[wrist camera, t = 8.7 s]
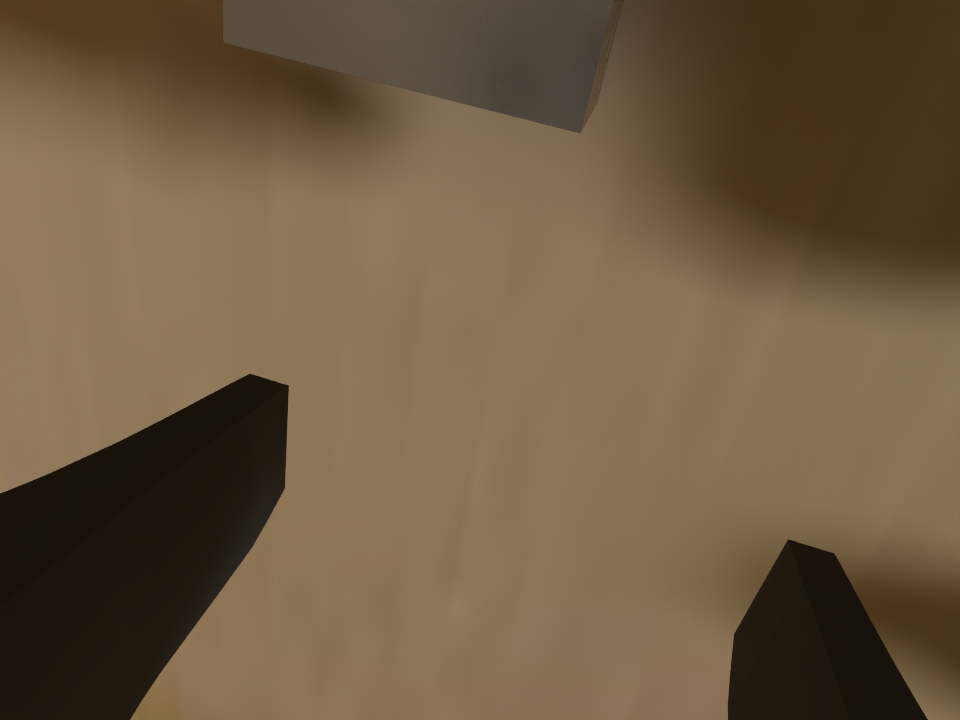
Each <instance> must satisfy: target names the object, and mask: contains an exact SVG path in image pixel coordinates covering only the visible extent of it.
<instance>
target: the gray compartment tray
mask: <svg viewBox="0 0 960 720" xmlns="http://www.w3.org/2000/svg"><path fill="white" fill-rule="evenodd" d="M622 1H623V0H223V43H227V44H230V45H234V46H238V47H242V48H246V49H250V50H254V51H258V52H262V53H266V54H270V55H274V56H278V57H282V58H286V59H290V60H294V61H297V62H301V63H305V64H309V65H313V66H317V67H321V68H325V69H329V70H333V71H337V72H341V73H345V74H349V75H353V76H357V77H361V78H364V79H368V80H372V81H376V82H380V83H384V84H388V85H392V86H396V87H400V88H404V89H408V90H412V91H416V92H420V93H424V94H428V95H431V96H435V97H439V98H443V99H447V100H451V101H455V102H459V103H463V104H467V105H471V106H475V107H479V108H483V109H487V110H491V111H495V112H498V113H502V114H506V115H510V116H514V117H518V118H522V119H526V120H530V121H534V122H538V123H542V124H546V125H550V126H554V127H558V128H562V129H565V130H569V131H573V132H577V133H581V131H582V129H583V127H584V126H585V124H586V122H587V120H588V118H589V116H590V114H591V113H592V111H593V109H594V107H595V105H596V103H597V100H598V96H599V92H600V88H601V84H602V80H603V76H604V72H605V68H606V64H607V60H608V56H609V52H610V48H611V44H612V40H613V36H614V32H615V28H616V24H617V20H618V17H619V13H620V9H621V5H622Z"/></svg>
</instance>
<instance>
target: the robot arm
mask: <svg viewBox="0 0 960 720" xmlns="http://www.w3.org/2000/svg"><path fill="white" fill-rule="evenodd" d="M288 391H289V386H288V385H285V384H281V383H278V382H275V381H272V380H268V379H265V378H262V377H259V376H255V375H252V374H249V375H247V376H245V377H243V378H241V379H239V380H237V381H235V382H233V383H231V384H229V385H227V386H225V387H223V388H222V389H220V390H218V391H216V392H214V393H212V394H210V395H208V396H206V397H205V398H203V399H201V400H199V401H197V402H195V403H193V404H191V405H189V406H188V407H186V408H184V409H182V410H180V411H178V412H176V413H174V414H172V415H170V416H169V417H167V418H165V419H163V420H161V421H159V422H157V423H155V424H153V425H151V426H149V427H147V428H145V429H143V430H141V431H139V432H137V433H135V434H133V435H131V436H129V437H127V438H125V439H123V440H121V441H119V442H117V443H115V444H113V445H111V446H109V447H106V448H104V449H102V450H100V451H98V452H95V453H93V454H91V455H89V456H87V457H85V458H82V459H80V460H78V461H76V462H74V463H71V464H69V465H67V466H65V467H63V468H60V469H58V470H56V471H54V472H52V473H50V474H47V475H45V476H43V477H40V478H38V479H35V480H33V481H31V482H28V483H26V484H23V485H21V486H18V487H16V488H13V489H11V490H8V491H6V492H3V493H0V720H130V719H131V717H132V716H133V714H134V712H135V711H136V709H137V707H138V706H139V704H140V702H141V701H142V699H143V698H144V696H145V695H146V693H147V692H148V690H149V689H150V687H151V686H152V684H153V683H154V681H155V680H156V678H157V677H158V676H159V674H160V673H161V671H162V670H163V668H164V667H165V666H166V664H167V663H168V662H169V660H170V659H171V658H172V656H173V655H174V653H175V652H176V651H177V649H178V648H179V647H180V645H181V644H182V643H183V641H184V640H185V639H186V637H187V636H188V634H189V633H190V632H191V630H192V629H193V628H194V626H195V625H196V624H197V622H198V621H199V620H200V618H201V617H202V615H203V614H204V613H205V611H206V610H207V609H208V607H209V606H210V605H211V603H212V602H213V601H214V599H215V598H216V596H217V595H218V594H219V592H220V591H221V590H222V588H223V587H224V585H225V584H226V583H227V581H228V580H229V579H230V577H231V576H232V574H233V573H234V572H235V570H236V569H237V568H238V566H239V565H240V563H241V562H242V561H243V559H244V558H245V556H246V555H247V554H248V552H249V551H250V549H251V548H252V547H253V545H254V543H255V541H256V540H257V538H258V536H259V534H260V533H261V531H262V529H263V527H264V526H265V524H266V522H267V520H268V519H269V517H270V515H271V513H272V511H273V509H274V507H275V505H276V504H277V502H278V500H279V498H280V496H281V494H282V492H283V491H284V489H285V469H286V443H287V417H288ZM728 720H928V719H927V718H926V716H925V714H924V713H923V711H922V709H921V708H920V706H919V704H918V703H917V701H916V699H915V698H914V696H913V694H912V693H911V691H910V689H909V687H908V686H907V684H906V682H905V681H904V679H903V677H902V675H901V674H900V672H899V670H898V669H897V667H896V665H895V663H894V661H893V660H892V658H891V656H890V654H889V653H888V651H887V649H886V647H885V645H884V644H883V642H882V640H881V638H880V636H879V635H878V633H877V631H876V629H875V627H874V625H873V624H872V622H871V620H870V618H869V616H868V614H867V613H866V611H865V609H864V607H863V605H862V603H861V601H860V600H859V598H858V596H857V594H856V592H855V590H854V589H853V587H852V585H851V583H850V581H849V579H848V577H847V576H846V574H845V572H844V570H843V568H842V566H841V565H840V563H839V561H838V559H837V557H836V556H835V554H834V553H830V552H827V551H824V550H821V549H817V548H814V547H811V546H808V545H804V544H801V543H798V542H795V541H791V540H788V541H787V542H786V544H785V546H784V548H783V549H782V551H781V553H780V555H779V556H778V558H777V560H776V562H775V563H774V565H773V567H772V569H771V570H770V572H769V574H768V576H767V578H766V579H765V581H764V583H763V585H762V586H761V588H760V590H759V592H758V593H757V595H756V597H755V599H754V600H753V602H752V604H751V606H750V607H749V609H748V611H747V613H746V614H745V616H744V618H743V620H742V621H741V623H740V625H739V627H738V628H737V630H736V632H735V634H734V641H733V651H732V661H731V671H730V684H729V698H728Z"/></svg>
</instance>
